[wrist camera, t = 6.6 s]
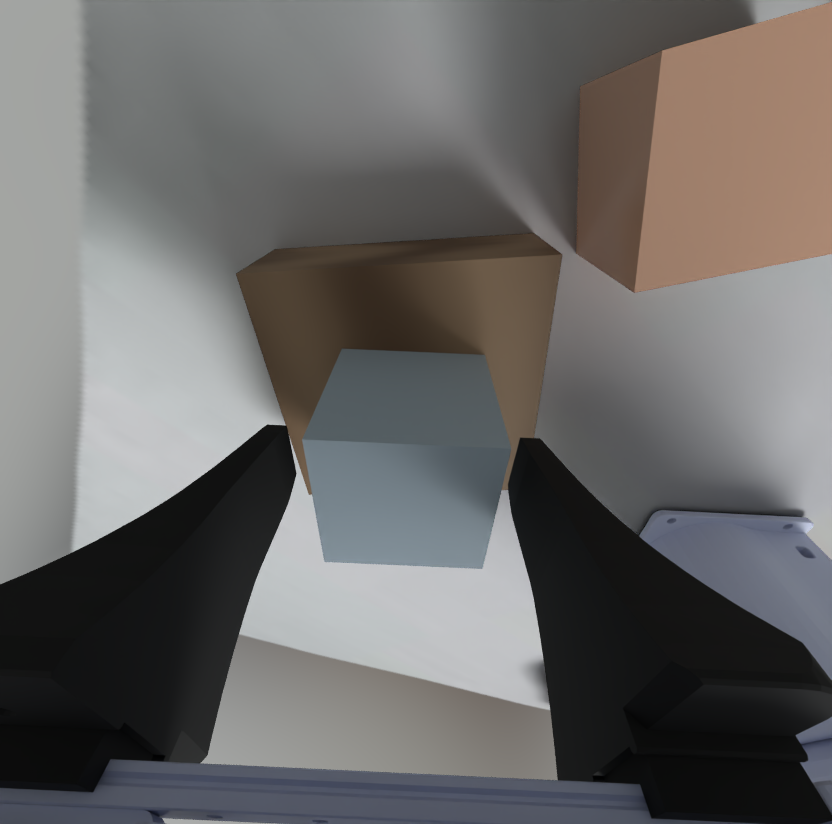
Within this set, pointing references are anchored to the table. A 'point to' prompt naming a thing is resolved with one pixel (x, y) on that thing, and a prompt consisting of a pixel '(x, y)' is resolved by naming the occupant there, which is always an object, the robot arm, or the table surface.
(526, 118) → the table surface
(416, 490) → the blue-grey cube
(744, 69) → the terracotta cube
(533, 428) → the walnut slab
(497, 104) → the table surface
